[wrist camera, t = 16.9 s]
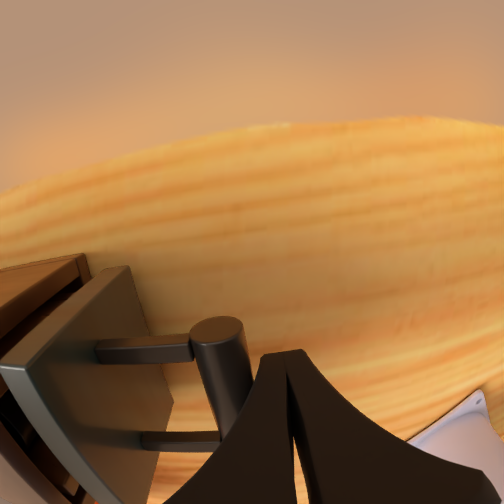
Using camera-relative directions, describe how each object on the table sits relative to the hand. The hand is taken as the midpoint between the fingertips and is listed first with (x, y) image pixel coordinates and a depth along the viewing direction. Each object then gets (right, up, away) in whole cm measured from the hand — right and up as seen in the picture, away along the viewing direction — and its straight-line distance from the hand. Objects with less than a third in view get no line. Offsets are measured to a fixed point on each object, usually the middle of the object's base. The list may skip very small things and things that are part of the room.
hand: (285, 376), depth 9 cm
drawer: (-9, 0, +3) cm, 10 cm away
